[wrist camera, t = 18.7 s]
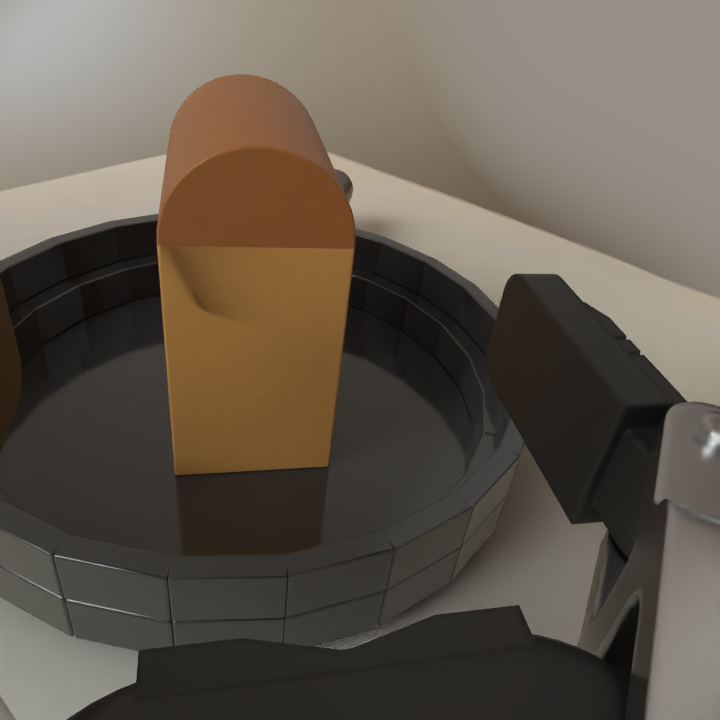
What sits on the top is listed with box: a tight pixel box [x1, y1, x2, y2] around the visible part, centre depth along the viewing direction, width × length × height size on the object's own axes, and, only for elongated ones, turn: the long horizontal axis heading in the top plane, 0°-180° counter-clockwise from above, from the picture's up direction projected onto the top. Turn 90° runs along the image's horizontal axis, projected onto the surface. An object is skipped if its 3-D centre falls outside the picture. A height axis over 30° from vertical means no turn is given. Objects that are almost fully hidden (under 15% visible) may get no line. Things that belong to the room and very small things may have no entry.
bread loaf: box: [157, 75, 356, 475], centre depth 19 cm, size 6×5×10 cm
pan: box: [0, 214, 525, 651], centre depth 21 cm, size 18×18×4 cm
